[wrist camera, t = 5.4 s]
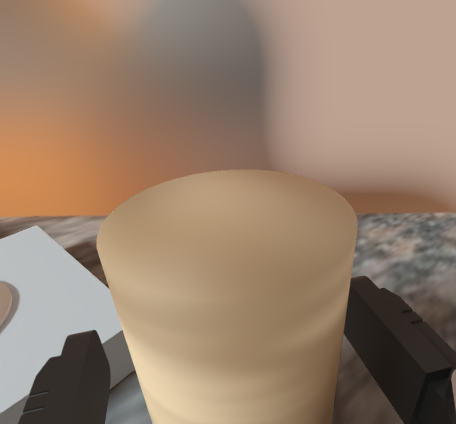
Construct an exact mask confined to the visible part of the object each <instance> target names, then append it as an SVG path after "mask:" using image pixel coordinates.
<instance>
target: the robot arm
mask: <svg viewBox="0 0 456 424" xmlns="http://www.w3.org/2000/svg"><path fill="white" fill-rule="evenodd" d="M344 334H345V336H346V337H347V339H348V340H349V342H350V343H351V345H352V346H353V348H354V349H355V351H356V352H357V354H358V355H359V357H360V358H361V360H362V361H363V363H364V364H365V366H366V367H367V369H368V370H369V372H370V373H371V375H372V376H373V378H374V379H375V381H376V382H377V383H378V385H379V386H380V388H381V389H382V391H383V392H384V394H385V395H386V397H387V398H388V400H389V401H390V403H391V404H392V406H393V407H394V409H395V410H396V412H397V413H398V415H399V416H400V418H401V419H402V421H403V422H404V424H456V352H455V351H454V350H453V349H452V348H451V347H450V346H449V345H448V344H447V343H446V342H445V341H444V340H443V339H442V338H441V337H440V336H439V335H438V334H437V333H436V332H435V331H434V330H433V329H432V328H431V327H430V326H429V325H428V324H427V323H426V322H423V321H422V319H421V318H420V317H419V316H418V315H417V314H416V313H415V312H413V311H412V309H411V308H410V307H409V306H408V305H407V304H406V303H405V302H404V301H403V300H402V299H401V298H400V297H399V296H397V295H396V294H394V293H392V292H390V291H389V290H387V289H385V288H381V289H379V288H378V287H377V286H376V285H375V284H374V283H373V282H372V281H371V280H370V279H369V278H368V277H366V276H359V277H355V278H351V281H350V288H349V296H348V303H347V311H346V318H345V326H344ZM110 382H111V373H110V365H109V362H108V359H107V356H106V354H105V351H104V348H103V346H102V343H101V340H100V338H99V335H98V333H97V331H96V330H91V331H86V332H81V333H76V334H71V335H68V336H67V338H66V340H65V343H64V346H63V349H62V352H61V355H60V356H56V357H51V358H49V359H48V361H47V362H46V363H45V365H44V366H43V367H42V369H41V370H40V371H39V372H38V374H37V375H36V377H35V380H34V382H33V385H32V388H31V390H30V393H29V398H28V399H27V401H26V404H25V406H24V409H23V415H21V417H20V420H19V422H18V424H105V419H106V411H107V404H108V397H109V390H110Z"/></svg>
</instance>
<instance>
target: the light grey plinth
mask: <svg viewBox="0 0 456 424" xmlns="http://www.w3.org/2000/svg"><path fill="white" fill-rule="evenodd" d="M91 330H96V331H97V333H98V335H99V338H100V340H101V343H102V346H103V348H104V351H105V354H106V356H107V359H108V362H109V365H110V373H111V382H110V389H111V388H113V387H114V386H115V385H116V384H118V383H119V382H120V381H121V380H123V379H124V378H125V377H126V376H128V375H129V374H130V373H131V372H133V371H134V370H135V367H134V364H133V361H132V358H131V354H130V351H129V348H128V345H127V342H126V339H125V336H124V333H123V330H122V326H121V323H120V320H119V317H118V314H117V311H116V308H115V305H114V301H113V298H112V295H111V292H110V289H109V288H107V287H106V286H105V285H104V284H103V283H102V282H101V281H100V280H98V279H97V278H96V277H95V276H94V275H93V274H92V273H90V272H89V271H88V270H87V269H86V268H85V267H84V266H82V265H81V264H80V263H79V262H78V261H77V260H76V259H74V258H73V257H72V256H71V255H70V254H69V253H68V252H67V251H65V250H64V249H63V248H62V247H61V246H60V245H59V244H57V243H56V242H55V241H54V240H53V239H52V238H51V237H49V236H48V235H47V234H46V233H45V232H44V231H43V230H41V229H40V228H39V227H38V226H37V225H36V226H34V227H31V228H28V229H26V230H23V231H20V232H18V233H15V234H13V235H10V236H7V237H5V238H2V239H0V424H18V422H19V420H20V417H21V415H23V409H24V406H25V404H26V401H27V399H28V398H29V393H30V390H31V388H32V385H33V382H34V380H35V377H36V375H37V374H38V372H39V371H40V370H41V369H42V367H43V366H44V365H45V363H46V362H47V361H48V359H49V358H51V357H56V356H60V355H61V352H62V349H63V346H64V343H65V340H66V338H67V336H68V335H71V334H76V333H81V332H86V331H91Z"/></svg>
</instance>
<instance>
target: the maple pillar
mask: <svg viewBox="0 0 456 424" xmlns="http://www.w3.org/2000/svg"><path fill="white" fill-rule="evenodd" d="M357 228H358V226H357V218H356V215H355V212H354V210H353V208H352V207H351V206H350V204H349V203H348V202H347V201H346V200H345V199H344V198H343V197H342V196H341V195H340V194H338V193H337V192H336V191H334V190H332V189H331V188H329V187H327V186H325V185H323V184H321V183H318V182H316V181H313V180H310V179H308V178H305V177H300V176H297V175H292V174H288V173H282V172H274V171H266V170H223V171H213V172H206V173H199V174H194V175H189V176H185V177H181V178H177V179H174V180H170V181H167V182H164V183H161V184H158V185H156V186H153V187H151V188H149V189H146V190H144V191H142V192H140V193H138V194H136V195H134V196H133V197H131V198H130V199H128V200H126V201H125V202H123V203H122V204H121V205H119V206H118V207H117V208H116V209H115V210H114V211H113V212H111V213H110V214H109V216H108V217H107V218H106V219H105V221H104V222H103V224H102V226H101V227H100V229H99V232H98V236H97V251H98V254H99V258H100V261H101V264H102V267H103V270H104V273H105V277H106V280H107V283H108V286H109V289H110V292H111V295H112V298H113V301H114V305H115V308H116V311H117V314H118V317H119V320H120V323H121V326H122V330H123V333H124V336H125V339H126V342H127V345H128V348H129V351H130V354H131V358H132V361H133V364H134V367H135V370H136V373H137V376H138V379H139V382H140V386H141V389H142V392H143V395H144V398H145V401H146V404H147V407H148V411H149V414H150V417H151V420H152V423H153V424H332V416H333V408H334V401H335V393H336V386H337V378H338V371H339V363H340V356H341V348H342V341H343V333H344V326H345V318H346V311H347V303H348V296H349V288H350V281H351V273H352V266H353V258H354V251H355V243H356V236H357Z"/></svg>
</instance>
